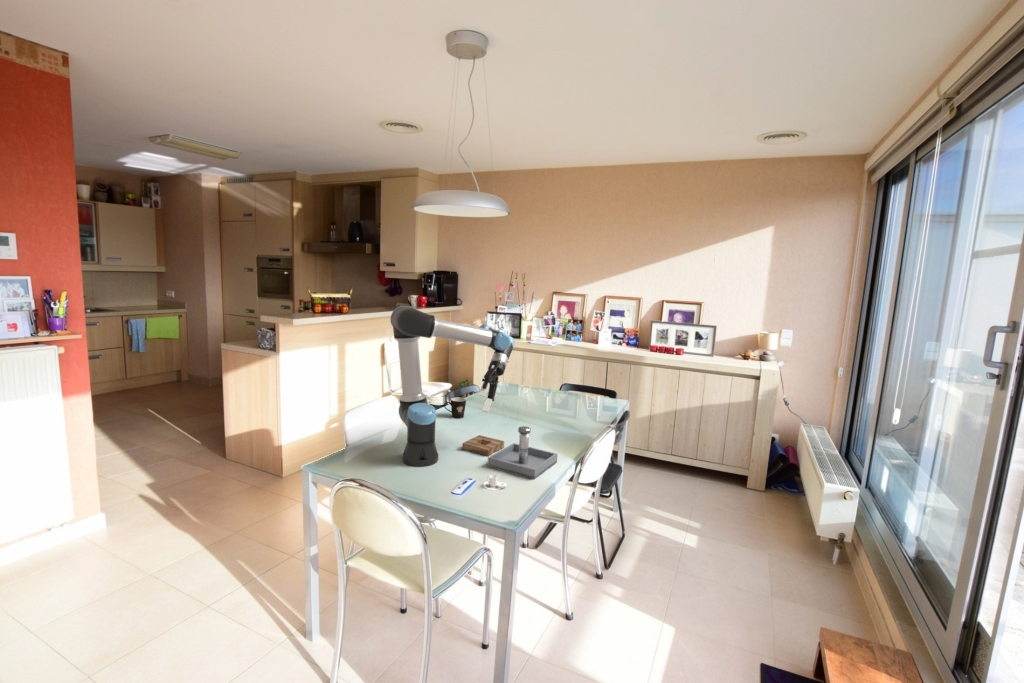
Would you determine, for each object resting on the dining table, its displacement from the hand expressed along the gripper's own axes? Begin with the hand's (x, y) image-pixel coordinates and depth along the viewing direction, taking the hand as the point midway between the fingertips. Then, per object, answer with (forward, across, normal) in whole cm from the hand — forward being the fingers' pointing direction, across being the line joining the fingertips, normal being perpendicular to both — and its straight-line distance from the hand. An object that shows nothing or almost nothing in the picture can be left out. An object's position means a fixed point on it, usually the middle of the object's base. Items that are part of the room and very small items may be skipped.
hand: (483, 403), depth 220 cm
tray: (+17, +13, -23) cm, 31 cm away
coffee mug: (-16, +54, +28) cm, 63 cm away
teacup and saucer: (+38, -6, -18) cm, 42 cm away
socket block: (+11, +23, -1) cm, 25 cm away
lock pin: (+17, +12, -22) cm, 30 cm away
